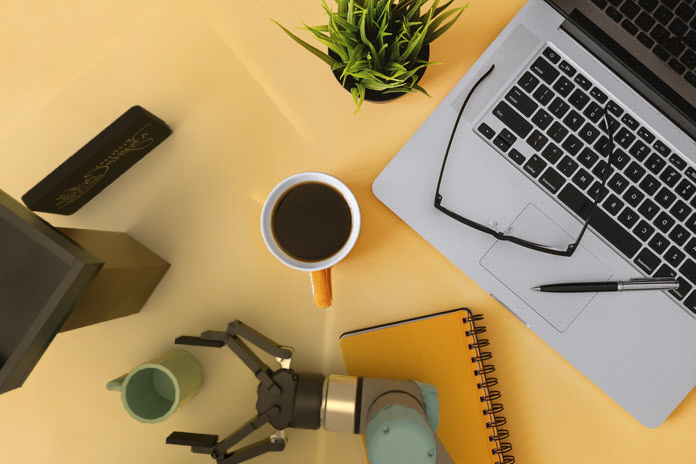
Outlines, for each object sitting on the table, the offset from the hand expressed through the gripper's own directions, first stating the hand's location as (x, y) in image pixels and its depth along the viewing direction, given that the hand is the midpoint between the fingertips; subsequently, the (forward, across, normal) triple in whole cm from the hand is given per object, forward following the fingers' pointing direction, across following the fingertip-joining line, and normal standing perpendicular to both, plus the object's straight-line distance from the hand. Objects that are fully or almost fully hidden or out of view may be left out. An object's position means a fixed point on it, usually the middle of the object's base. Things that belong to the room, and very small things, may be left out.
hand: (173, 388), depth 68 cm
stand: (+10, +15, -6) cm, 19 cm away
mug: (+3, 0, -6) cm, 7 cm away
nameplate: (+14, +31, -6) cm, 35 cm away
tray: (+10, +15, +20) cm, 27 cm away
